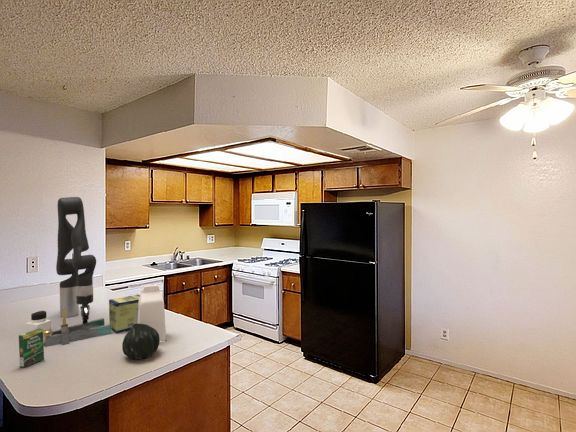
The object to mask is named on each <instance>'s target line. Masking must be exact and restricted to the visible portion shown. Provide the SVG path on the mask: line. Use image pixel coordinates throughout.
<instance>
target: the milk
mask: <svg viewBox="0 0 576 432" xmlns="http://www.w3.org/2000/svg"><path fill="white" fill-rule="evenodd" d="M139 295H140V297H139V302H138V324H146V325H149V326H150V327H152V328H154V329H155V330H156V331H157V332H158V334H159V339H160V340H159V342H160V341H165V340H166V341H167V332H166V331H167V330H166V316H165V315H166V313H165V303H164V302H165V301H164V299H163V296H162V295H163V294H162V292H161V289H160V286H159V285H158V284H153V285H145V286H143V289H142V291H141V293H140V294H139ZM166 341H165V342H166ZM160 343H161V342H160Z"/></svg>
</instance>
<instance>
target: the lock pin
mask: <svg viewBox="0 0 576 432" xmlns="http://www.w3.org/2000/svg"><path fill="white" fill-rule="evenodd" d="M61 319H62V320H61V321H62V325H63V326H66V324H67V317H66V309H62V317H61Z"/></svg>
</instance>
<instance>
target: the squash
mask: <svg viewBox="0 0 576 432" xmlns="http://www.w3.org/2000/svg"><path fill="white" fill-rule="evenodd" d="M126 332H127V333H126V334H125V335H124V338H123V340H122V345H121V347H122V352H123V354H124V356H125V357H127V358H129V359H130V360H131V359H132V360H134V359H135V358H136V359H137V360H142V359H144V358H147V359H148V358H149V357H151V356H152V355H153V354H154V353H155V352H157V351H158V349H159V345H160V343H159V340H160V339H159V334H158V332H157V331H156V330H155V329H154V328H152V327H150V326H149V325H146V324H134V325H133V326H132V327H131V329H130V330H129V331H126ZM136 359H135V360H136Z"/></svg>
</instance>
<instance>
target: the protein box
mask: <svg viewBox="0 0 576 432" xmlns="http://www.w3.org/2000/svg"><path fill="white" fill-rule="evenodd" d="M140 295H141V294H132V295H127V296H122V297H118V298H111V299H108V311H109V312H108V314H109V315H108V317H109V319H108V320H109V322H108V323H109V324H108V325H110V324H111V329H112V332H114V333H115V334H117V335H118V334H121V333H122V334H123V333H126V332H128V331H129V330H130V329H131V327H132V326H133V325H134V324H138V302H139V297H140Z"/></svg>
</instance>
